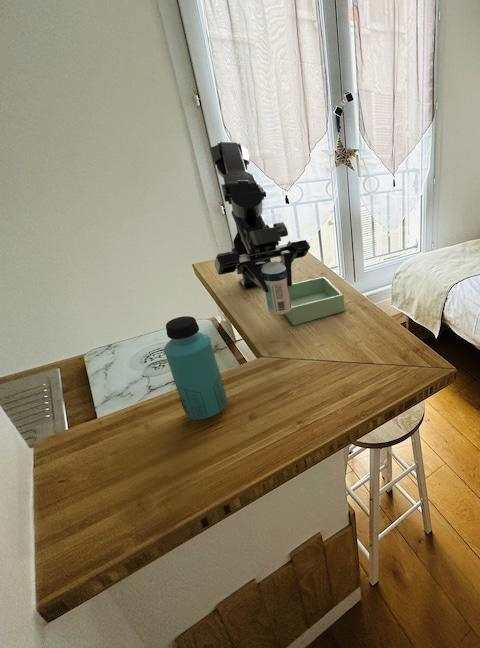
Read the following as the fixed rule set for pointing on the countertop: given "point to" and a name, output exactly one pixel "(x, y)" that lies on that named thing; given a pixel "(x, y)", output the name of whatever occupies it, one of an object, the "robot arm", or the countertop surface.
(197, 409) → the beverage bottle
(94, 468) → the countertop surface
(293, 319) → the bin
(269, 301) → the labeled cylindrical canister
